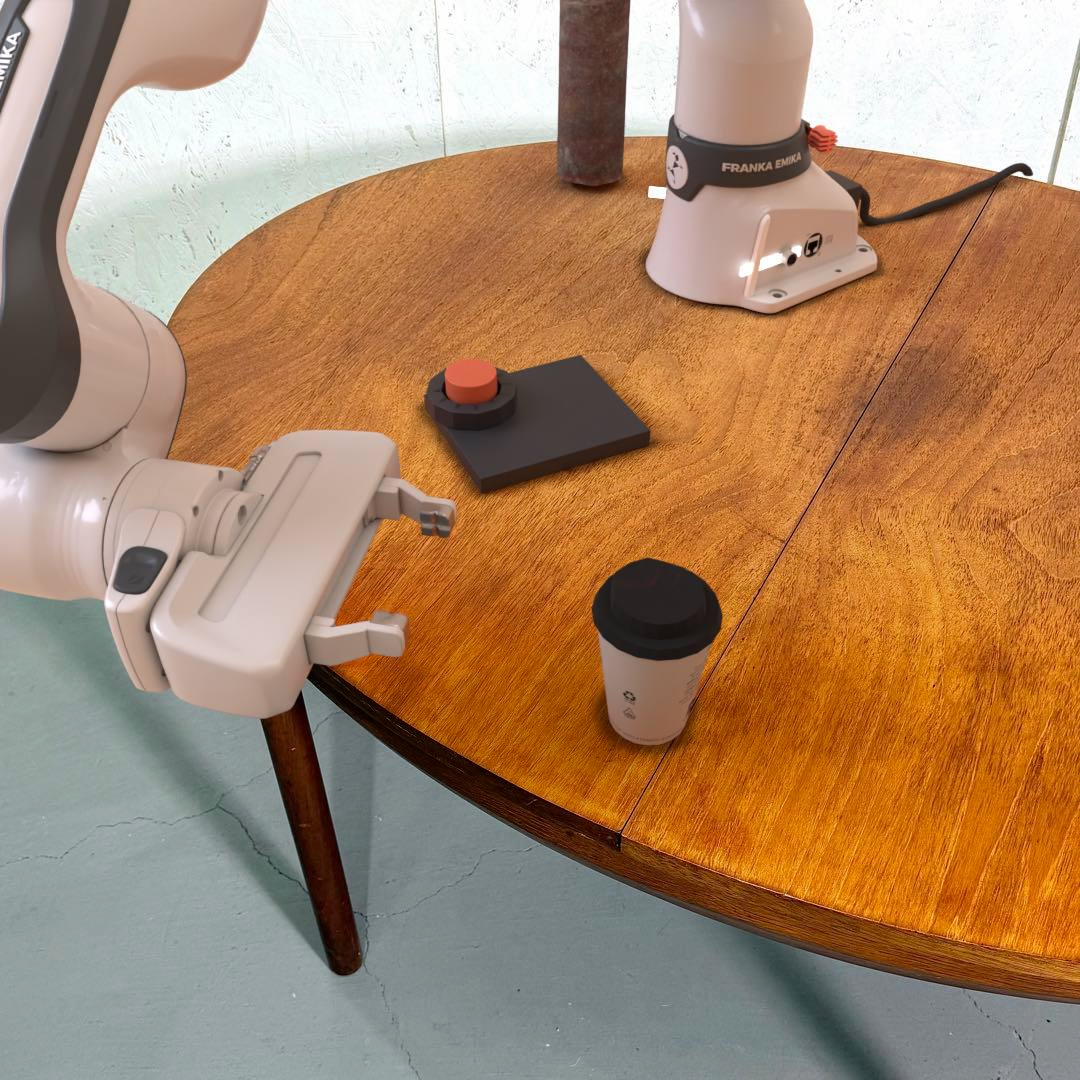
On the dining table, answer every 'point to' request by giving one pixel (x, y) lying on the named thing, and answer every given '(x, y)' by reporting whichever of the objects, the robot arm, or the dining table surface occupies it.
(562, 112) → the candle
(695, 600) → the coffee cup
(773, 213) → the robot arm
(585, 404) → the dark grey button base
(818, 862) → the dining table surface
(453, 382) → the red button cap
